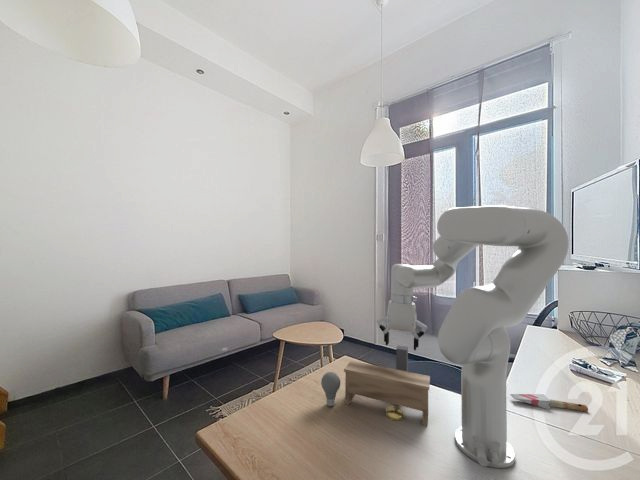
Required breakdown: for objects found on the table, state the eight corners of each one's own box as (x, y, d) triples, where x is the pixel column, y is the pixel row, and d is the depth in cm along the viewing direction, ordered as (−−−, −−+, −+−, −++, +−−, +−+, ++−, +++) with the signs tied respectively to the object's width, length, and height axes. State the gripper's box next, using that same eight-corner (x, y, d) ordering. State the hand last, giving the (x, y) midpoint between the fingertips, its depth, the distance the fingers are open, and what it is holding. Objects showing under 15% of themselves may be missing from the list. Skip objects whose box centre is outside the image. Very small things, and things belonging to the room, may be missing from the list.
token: (402, 423, 74) (402, 418, 74) (384, 419, 76) (384, 413, 76) (404, 413, 78) (404, 408, 79) (387, 409, 81) (387, 404, 81)
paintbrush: (509, 388, 87) (582, 400, 82) (508, 396, 87) (581, 409, 82) (514, 394, 83) (591, 407, 78) (514, 403, 83) (591, 417, 78)
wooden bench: (429, 426, 72) (429, 387, 73) (343, 403, 83) (344, 369, 83) (430, 412, 79) (430, 376, 79) (350, 392, 89) (350, 360, 89)
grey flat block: (403, 404, 83) (403, 359, 83) (392, 401, 84) (392, 357, 85) (407, 386, 94) (407, 346, 94) (397, 384, 95) (397, 345, 95)
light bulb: (344, 405, 82) (344, 372, 82) (331, 413, 78) (331, 379, 78) (329, 397, 86) (329, 366, 86) (317, 405, 82) (317, 372, 82)
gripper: (428, 299, 94) (427, 347, 94) (379, 294, 101) (378, 338, 101) (427, 303, 87) (426, 355, 87) (375, 298, 94) (374, 345, 94)
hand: (400, 346), depth 94 cm, fingers open, 9 cm apart
